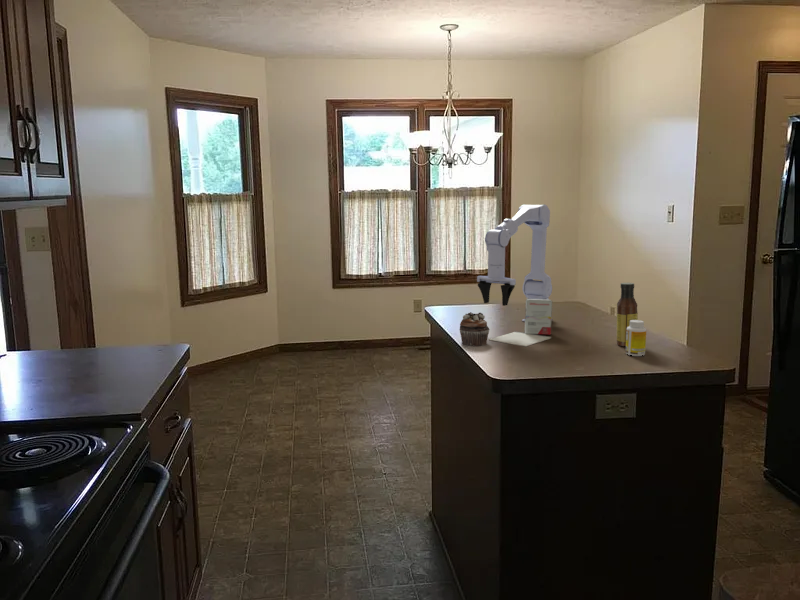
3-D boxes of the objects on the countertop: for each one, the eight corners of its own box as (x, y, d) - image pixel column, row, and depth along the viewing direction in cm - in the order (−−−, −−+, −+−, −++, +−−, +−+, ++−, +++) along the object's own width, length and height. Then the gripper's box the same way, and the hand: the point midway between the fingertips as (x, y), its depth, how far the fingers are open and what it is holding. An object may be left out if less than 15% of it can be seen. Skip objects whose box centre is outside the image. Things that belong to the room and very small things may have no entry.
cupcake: (455, 345, 206) (456, 314, 204) (463, 339, 215) (463, 309, 213) (485, 347, 203) (486, 316, 201) (492, 341, 212) (492, 311, 210)
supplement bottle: (649, 355, 192) (651, 321, 190) (635, 357, 189) (637, 323, 188) (634, 351, 197) (636, 318, 195) (621, 353, 194) (622, 320, 193)
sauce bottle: (637, 344, 206) (641, 282, 203) (636, 348, 201) (639, 284, 198) (616, 342, 209) (619, 281, 206) (613, 346, 204) (617, 283, 200)
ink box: (549, 332, 225) (551, 298, 223) (551, 335, 220) (552, 300, 218) (524, 331, 225) (525, 297, 224) (525, 333, 221) (527, 299, 219)
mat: (515, 332, 225) (515, 331, 225) (551, 338, 216) (551, 337, 216) (488, 340, 213) (488, 339, 213) (525, 346, 204) (525, 345, 204)
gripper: (472, 264, 223) (471, 303, 225) (508, 267, 213) (507, 307, 215) (483, 262, 228) (483, 300, 230) (519, 265, 218) (518, 305, 221)
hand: (495, 304), depth 223 cm, fingers open, 7 cm apart
